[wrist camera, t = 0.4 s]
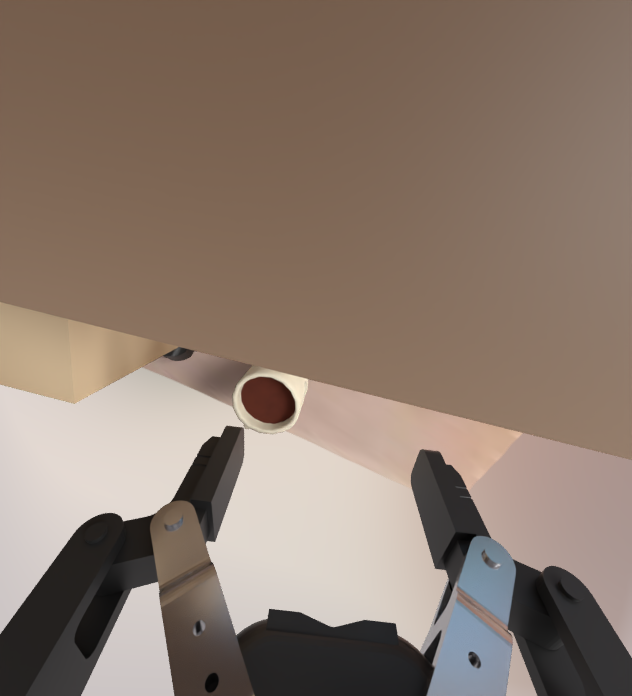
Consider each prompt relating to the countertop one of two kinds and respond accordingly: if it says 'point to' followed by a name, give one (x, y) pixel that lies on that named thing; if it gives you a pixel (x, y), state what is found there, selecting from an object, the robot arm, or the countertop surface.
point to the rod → (337, 193)
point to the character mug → (268, 400)
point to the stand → (67, 354)
